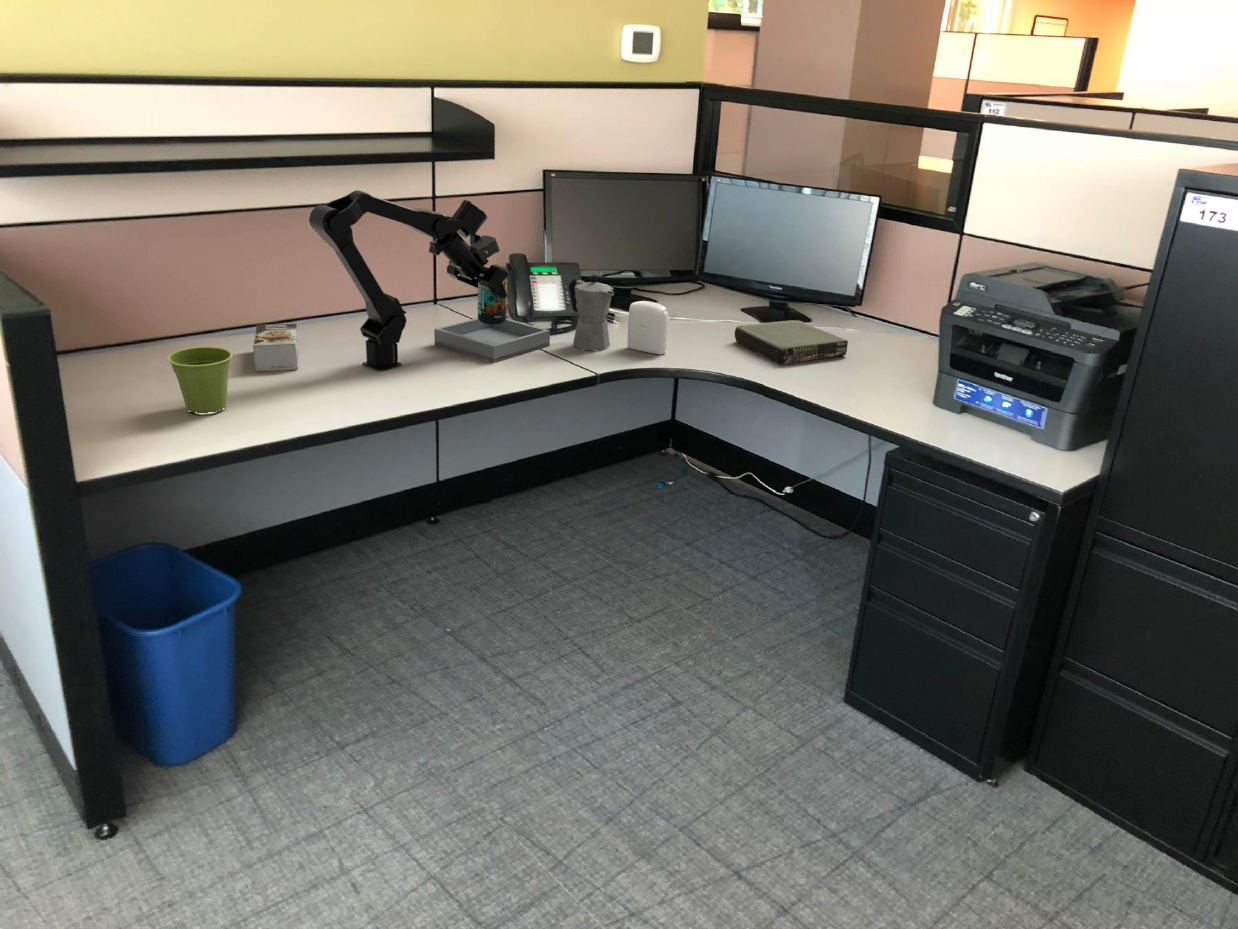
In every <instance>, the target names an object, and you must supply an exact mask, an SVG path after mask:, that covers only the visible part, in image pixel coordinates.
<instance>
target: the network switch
mask: <svg viewBox="0 0 1238 929" xmlns="http://www.w3.org/2000/svg"><path fill="white" fill-rule="evenodd" d="M734 339H735V342H736V343H737V344H739V345H740V344H741V345H740V346H742V345H743V346H742V347H744V346H745V347H744V348H746V347H747V348H746V349H749V350H750V349H751V351H752V350H753V352H754V351H755V352H754V353H757V354H758V355H760V354H761V355H760V356H762V355H763V356H762V357H764V358H766V359H767V358H768V360H770V361H771V360H772V361H771V362H773V361H774V362H773V363H775V362H776V363H775V364H777V363H778V365H779V366H784V365H787V364H790V363H793V362H794V363H798V362H799V361H800V362H807V361H813V360H816V359H817V360H818V359H819V360H820V359H825V358H830V357H839V356H842V355H845V356H847V355H846V354H847V352H848V343H849V340H847V339H845V338H842V337H839V336H837V335H836V334H835V335H834V334H832V333H830V332H827V331H825V330H823V329H821V328H818V327H815V326H813V325H810V324H808V323H805V322H803V321H801V320H793V319H792V320H782V321H771V322H763V323H753V324H752V323H751V324H742V325H737V326H736V328H735V330H734ZM819 360H818V361H819Z"/></svg>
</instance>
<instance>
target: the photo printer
mask: <svg viewBox="0 0 1238 929" xmlns="http://www.w3.org/2000/svg"><path fill="white" fill-rule="evenodd" d="M627 323H628V325H627V345H626V346H627V349H630V348H631V350H635V349H636V351H640V352H644V353H649V354H650V353H651V354H654V355H655V354H656V355H663V354H662V353H664V354H665V353H666V351H667V343H668V339H667V338H668V325H669V310H668V308H667V307H665V306H664V305H662V304H659V303H657V302H653V301H649V300H648V301H647V300H640V301H635V302H632V303H631V304H630V306H629V310H628V322H627Z"/></svg>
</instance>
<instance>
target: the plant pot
mask: <svg viewBox="0 0 1238 929" xmlns="http://www.w3.org/2000/svg"><path fill="white" fill-rule="evenodd" d="M233 354H234V353H233V352H232V351H231V350H229V349H226V348H224V347H223V348H222V347H217V346H196V347H195V346H193V347H188V348H183V349H179V350H176V351H174V352H173V351H172V353H170V354H168V356H167V357H166V359H167V361H168V363H170V364H171V367H172V371H173V372H174V374H175V377H176V379H177V382H178V384H179V388H180V391H181V394H182V395H181V396H182V398H183V401H184V404H185V408H186V411H187V410H189V411H191V412H197V413H208V412H216V411H219V410H222V409H223V408H225V407H226V408H227V397H228V396H227V395H228V380H229V369H230V364H231V359H232V358H233ZM226 408H225V409H226ZM219 412H220V411H219Z"/></svg>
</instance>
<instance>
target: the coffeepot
mask: <svg viewBox="0 0 1238 929" xmlns="http://www.w3.org/2000/svg"><path fill="white" fill-rule="evenodd" d="M590 278H591V281H589V282H586V281H584V280H578V279H576V278H573V279H572V280H571V281H570V282H569V284H568V291H569V295H570V296H569V298H570V301H571V306H572V310H573V311H574V313H578V314H579V316H578V318H579V319H578V320H577V324H576V328H575V333H574V338H573V341H572V345H573V346H574V347H575V348H576V347H577V348H576V349H578V348H579V349H578V350H581V349H584V350H583V351H587V350H591V351H590V352H593V351H592V350H601V349H605V350H607V349H608V348H609V347H610V346H611V344H610V343H611V342H610V336H609V335H610V334H609V327H608V326H609V325H608V321H607V316H608V314H609V311H610V305H611V300H612V297H613V296H614V294H615V292H614V288H613V287H612V286H610V285H608V284H606V283H601V282H597V281H598V275H596V274H592V275H591V276H590ZM608 346H609V347H608ZM607 347H608V348H607ZM606 348H607V349H606ZM601 351H602V350H601Z"/></svg>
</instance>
